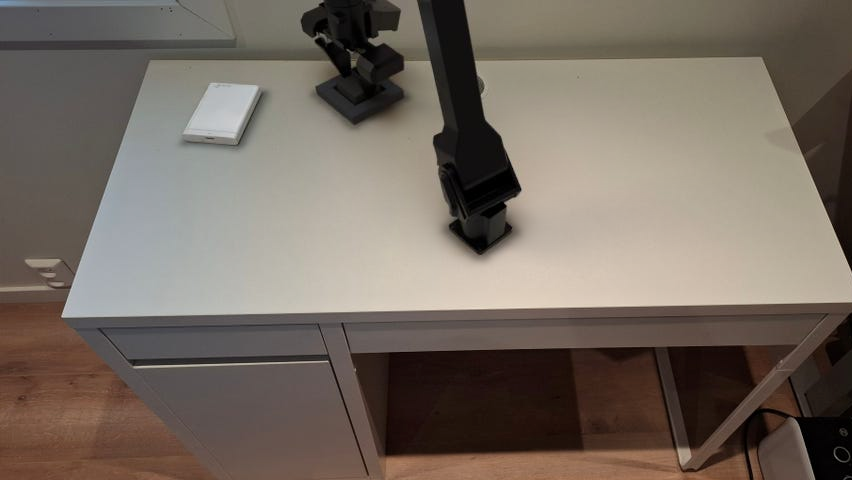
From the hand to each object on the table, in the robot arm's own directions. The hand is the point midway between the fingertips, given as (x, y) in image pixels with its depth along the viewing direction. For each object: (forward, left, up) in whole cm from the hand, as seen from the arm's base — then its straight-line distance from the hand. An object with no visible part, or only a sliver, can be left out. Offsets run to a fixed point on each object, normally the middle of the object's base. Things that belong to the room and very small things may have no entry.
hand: (359, 88), depth 98 cm
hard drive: (+10, +19, -2) cm, 22 cm away
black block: (0, 0, -1) cm, 1 cm away
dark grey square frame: (0, 0, -2) cm, 2 cm away
